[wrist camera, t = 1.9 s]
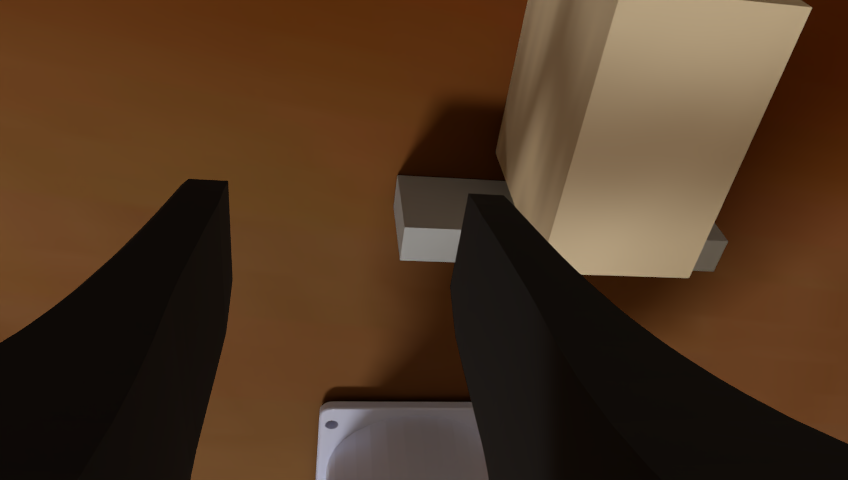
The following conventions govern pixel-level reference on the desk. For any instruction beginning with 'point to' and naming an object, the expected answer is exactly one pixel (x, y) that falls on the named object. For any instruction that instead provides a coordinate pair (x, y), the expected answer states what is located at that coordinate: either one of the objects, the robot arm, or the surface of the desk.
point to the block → (638, 122)
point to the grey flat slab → (444, 212)
